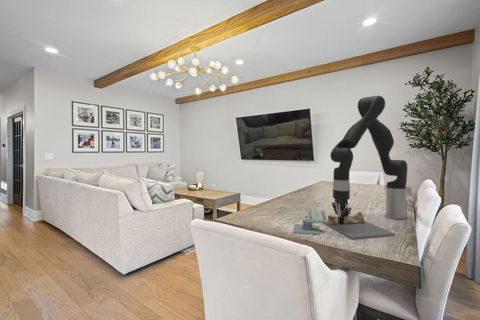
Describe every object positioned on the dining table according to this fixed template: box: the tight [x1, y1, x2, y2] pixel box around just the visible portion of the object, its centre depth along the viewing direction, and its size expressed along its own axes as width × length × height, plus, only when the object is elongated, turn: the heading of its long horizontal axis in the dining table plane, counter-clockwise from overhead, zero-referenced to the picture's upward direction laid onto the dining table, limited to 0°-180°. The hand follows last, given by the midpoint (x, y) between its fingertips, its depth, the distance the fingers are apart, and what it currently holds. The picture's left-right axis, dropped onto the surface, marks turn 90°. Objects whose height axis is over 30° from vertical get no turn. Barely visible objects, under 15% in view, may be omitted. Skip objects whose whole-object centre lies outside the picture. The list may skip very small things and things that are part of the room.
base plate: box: [323, 211, 396, 241], centre depth 114 cm, size 22×24×6 cm
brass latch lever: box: [327, 213, 365, 224], centre depth 120 cm, size 19×4×4 cm, turn 98°
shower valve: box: [293, 218, 325, 236], centre depth 113 cm, size 12×6×15 cm
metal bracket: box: [305, 209, 328, 221], centre depth 130 cm, size 14×6×15 cm
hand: (341, 224), depth 112 cm, fingers closed
